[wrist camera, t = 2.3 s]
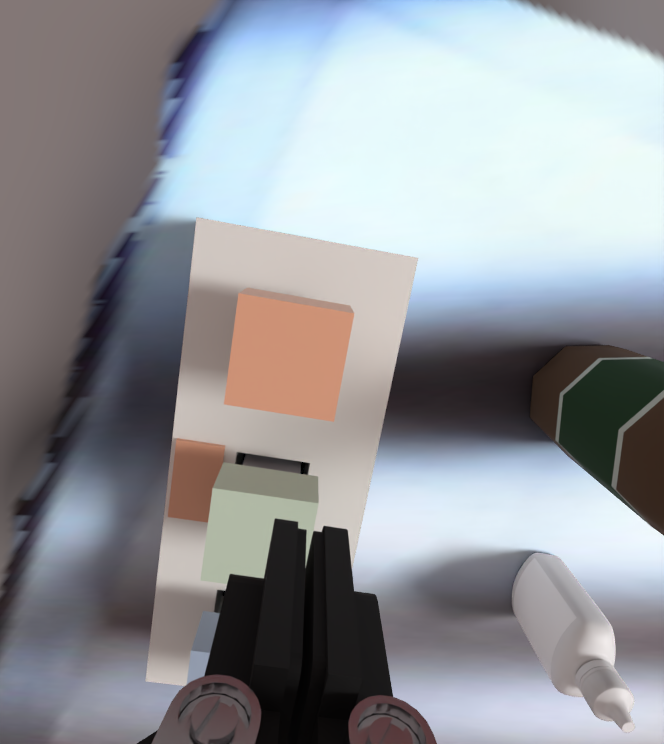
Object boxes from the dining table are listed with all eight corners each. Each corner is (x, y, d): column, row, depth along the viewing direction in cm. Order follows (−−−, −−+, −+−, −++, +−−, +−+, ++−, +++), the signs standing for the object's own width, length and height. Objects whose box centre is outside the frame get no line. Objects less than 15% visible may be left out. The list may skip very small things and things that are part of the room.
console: (322, 646, 40) (323, 705, 35) (166, 626, 39) (144, 685, 34) (402, 255, 33) (419, 258, 27) (214, 221, 32) (195, 216, 27)
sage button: (304, 513, 34) (301, 593, 26) (226, 503, 34) (200, 580, 26) (317, 441, 33) (318, 503, 25) (237, 429, 32) (212, 488, 25)
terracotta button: (329, 378, 32) (333, 421, 24) (246, 364, 31) (223, 404, 24) (344, 295, 31) (354, 313, 23) (258, 280, 30) (238, 293, 23)
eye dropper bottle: (488, 591, 39) (562, 739, 27) (541, 541, 38) (641, 672, 26) (527, 622, 40) (615, 779, 28) (581, 573, 39) (694, 715, 27)
